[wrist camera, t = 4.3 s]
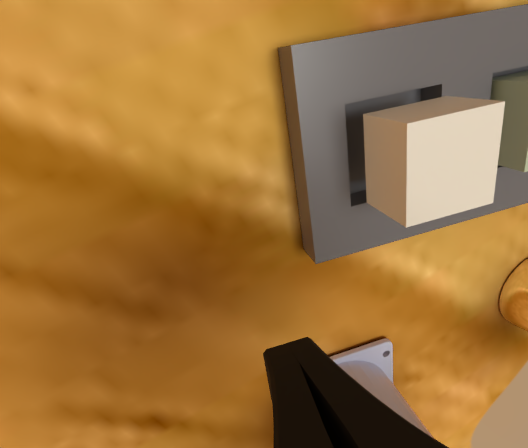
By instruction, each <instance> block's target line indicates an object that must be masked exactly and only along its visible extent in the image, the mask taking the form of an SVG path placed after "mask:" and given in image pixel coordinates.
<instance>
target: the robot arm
mask: <svg viewBox="0 0 528 448" xmlns="http://www.w3.org/2000/svg"><path fill="white" fill-rule="evenodd" d="M263 356H264V361H265V366H266V372H267V377H268V383H269V388H270V394H271V399H272V403H273V417H274V448H448V447H447V446H445V445H443V444H442V443H440V442H439V441H437V440H435V439H434V438H433V437H432V435H431V434H430V433H429V431H428V430H427V429H426V427H425V426H424V425H423V423H422V422H421V421H420V419H419V418H418V417H417V415H416V414H415V413H414V411H413V410H412V409H411V407H410V406H409V405H408V403H407V402H406V401H405V399H404V398H403V397H402V395H401V394H400V393H399V391H398V390H397V389H396V387H395V386H394V385H393V345H392V343H391V341H390V340H389V339H387V338H385V339H381V340H378V341H375V342H372V343H369V344H366V345H363V346H360V347H357V348H354V349H351V350H348V351H345V352H342V353H340V354H337V355H334V356H331V357H329V356H328V355H327V354H326V353H324V352H323V351H322V350H321V349H320V348H319V347H318V346H317V345H316V344H315V343H314V342H313V340H312V339H310V338H308V337H305V338H302V339H299V340H296V341H292V342H289V343H286V344H283V345H279V346H276V347H273V348H270V349H266V351H265V352H264V353H263Z"/></svg>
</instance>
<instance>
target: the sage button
mask: <svg viewBox="0 0 528 448" xmlns="http://www.w3.org/2000/svg"><path fill="white" fill-rule="evenodd" d="M490 100H497V101H505V107H504V116H503V124H502V133H501V141H500V149H499V158H498V165H500V166H503V167H507V168H511V169H514V170H518V171H521V172H527V171H528V70H527V71H522V72H518V73H513V74H508V75H504V76H499V77H494V78H492V87H491V97H490Z"/></svg>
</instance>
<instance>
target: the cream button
mask: <svg viewBox="0 0 528 448" xmlns="http://www.w3.org/2000/svg"><path fill="white" fill-rule="evenodd" d="M504 107H505V101H497V100H486V99H475V98H464V97H453V96H444V97H439V98H435V99H430V100H425V101H421V102H416V103H412V104H407V105H402V106H398V107H393V108H389V109H384V110H380V111H375V112H370V113H366V114H363V125H364V150H365V174H366V198H367V203H368V204H370V205H371V206H373V207H374V208H376V209H378V210H379V211H381V212H382V213H384V214H385V215H387V216H389V217H390V218H392V219H393V220H395V221H396V222H398V223H400V224H401V225H403V226H404V227H406V228H407V227H410V226H414V225H417V224H421V223H424V222H428V221H431V220H435V219H438V218H442V217H445V216H449V215H452V214H456V213H460V212H463V211H467V210H470V209H474V208H477V207H481V206H484V205H488V204H491V203H493V200H494V192H495V183H496V175H497V166H498V158H499V149H500V141H501V133H502V124H503V116H504Z"/></svg>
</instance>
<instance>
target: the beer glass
mask: <svg viewBox="0 0 528 448" xmlns="http://www.w3.org/2000/svg"><path fill="white" fill-rule="evenodd" d="M499 308H500V312H501V314H502V316H503V317H504V318H505V319H506V320H507V321H509V322H510V323H512V324H514V325H516V326H518V327H520V328H522V329H524V330H526V331H528V258H527V259H526V260H525V261H523V262H522V263H521V264H520V265H519V266H518V267H517V268H516V269H515V270H514V271H513V272H512V273H511V275H510V276H509V277H508V279H507V281H506V282H505V284H504V286H503V288H502V291H501V294H500V299H499Z"/></svg>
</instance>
